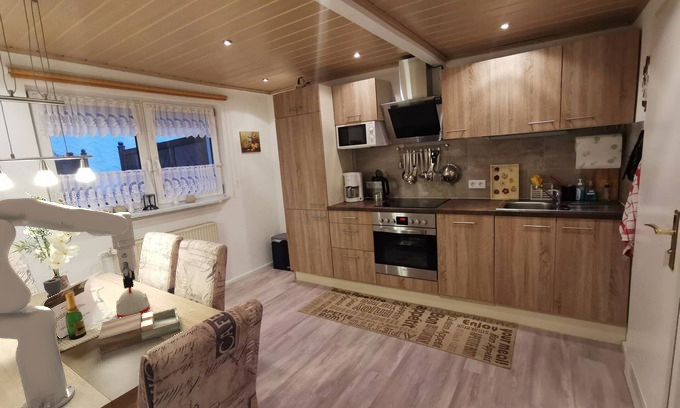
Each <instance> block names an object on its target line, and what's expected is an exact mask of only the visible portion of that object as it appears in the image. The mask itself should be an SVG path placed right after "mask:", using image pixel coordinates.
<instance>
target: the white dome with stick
mask: <svg viewBox="0 0 680 408" xmlns="http://www.w3.org/2000/svg"><path fill="white" fill-rule="evenodd" d="M115 307H116V308H115V309H116V311H115V312H116V317H117V316H118V317H117V318H119V317H125V316H129V315H133V314H137V313H141V315H142V314H144V313H147V312H149V310H150V309H151V304H150V301H149V298H148V296H147V294H146V293H145V292H144V293H143V291H141V290H140V289H138V288H135V287H131V288H126V289H125V290H124V291H123V292H122V293H121V295H120V296H119V299H117V300H116V306H115Z"/></svg>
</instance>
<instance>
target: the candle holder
mask: <svg viewBox="0 0 680 408" xmlns="http://www.w3.org/2000/svg"><path fill="white" fill-rule="evenodd" d="M42 283H43V289H44V290H45V292H46V293H47V295H46V298H47V299H49V297H51V296H53V295H55V294H57V293H59V292H60V291H61V290H62V289H63V288H62V287H63V283H62V279H61V278H60V277H59V278H58V277H57V278H51V279H48V280H45V281H43V282H42ZM57 340H60V338H59V337H58V336H57Z"/></svg>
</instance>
